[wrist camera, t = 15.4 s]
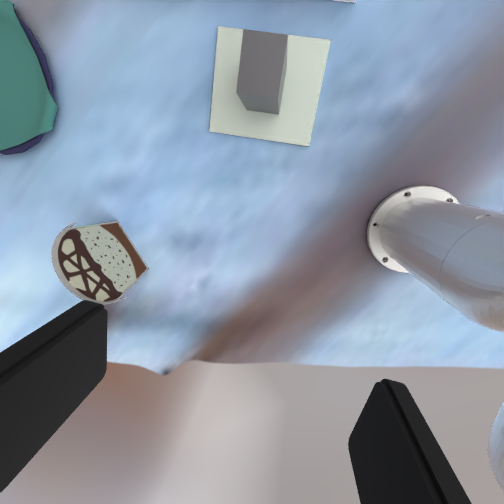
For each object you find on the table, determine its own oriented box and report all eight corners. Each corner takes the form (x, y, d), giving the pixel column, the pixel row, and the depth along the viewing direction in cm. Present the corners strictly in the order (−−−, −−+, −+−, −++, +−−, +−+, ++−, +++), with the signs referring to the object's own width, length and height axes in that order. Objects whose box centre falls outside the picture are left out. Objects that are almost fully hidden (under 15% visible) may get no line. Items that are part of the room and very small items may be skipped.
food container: (85, 228, 43) (29, 245, 33) (112, 212, 41) (62, 225, 32) (126, 288, 45) (85, 319, 36) (153, 275, 44) (118, 304, 34)
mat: (330, 41, 31) (330, 39, 30) (308, 146, 35) (309, 146, 34) (219, 28, 32) (218, 26, 31) (210, 131, 36) (209, 131, 35)
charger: (287, 65, 32) (288, 32, 24) (279, 114, 33) (277, 98, 26) (252, 61, 32) (243, 27, 24) (246, 110, 34) (236, 92, 26)
